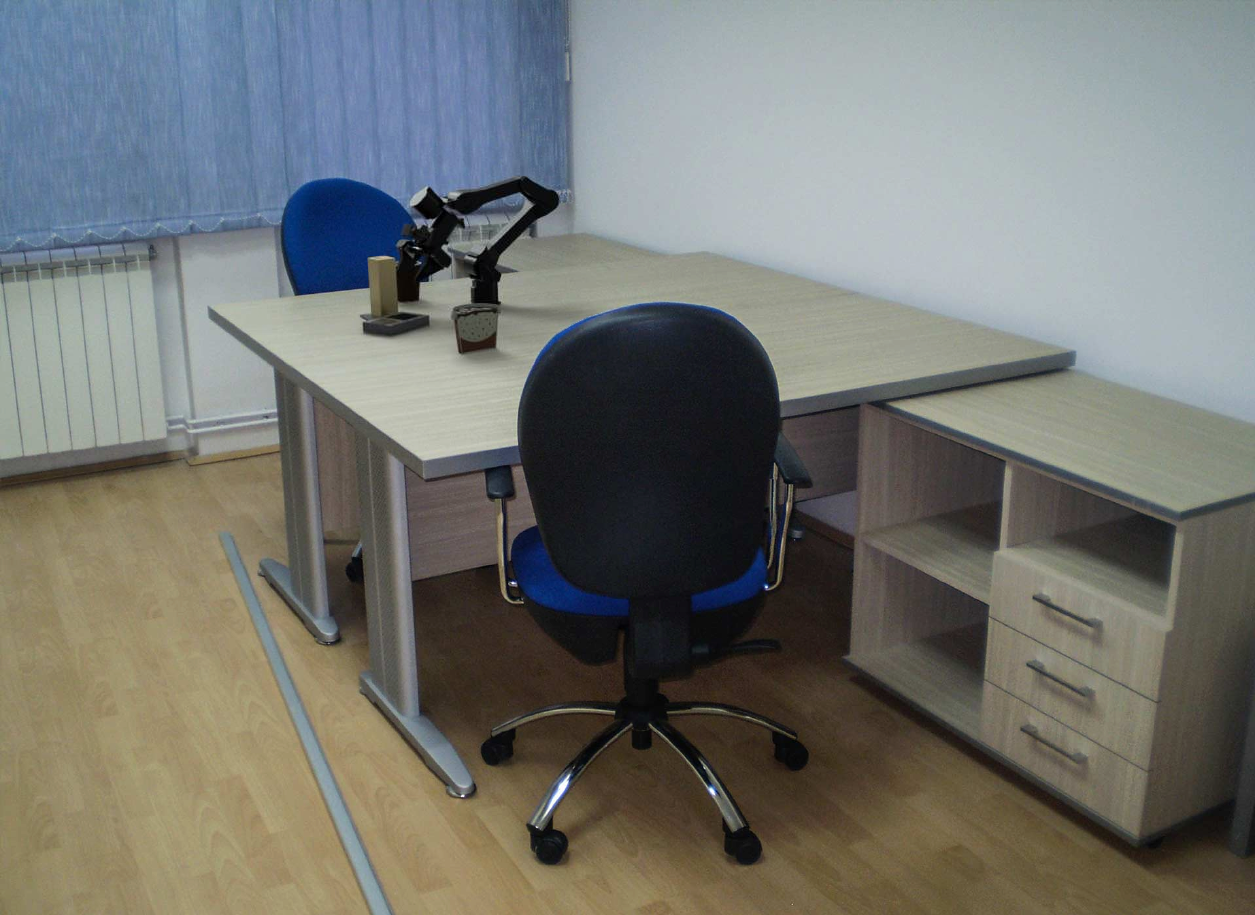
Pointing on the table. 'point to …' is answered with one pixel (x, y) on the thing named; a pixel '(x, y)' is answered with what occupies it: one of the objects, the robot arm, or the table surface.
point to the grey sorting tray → (396, 323)
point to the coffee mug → (408, 284)
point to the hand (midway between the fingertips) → (405, 279)
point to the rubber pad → (367, 316)
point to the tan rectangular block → (382, 286)
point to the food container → (475, 326)
